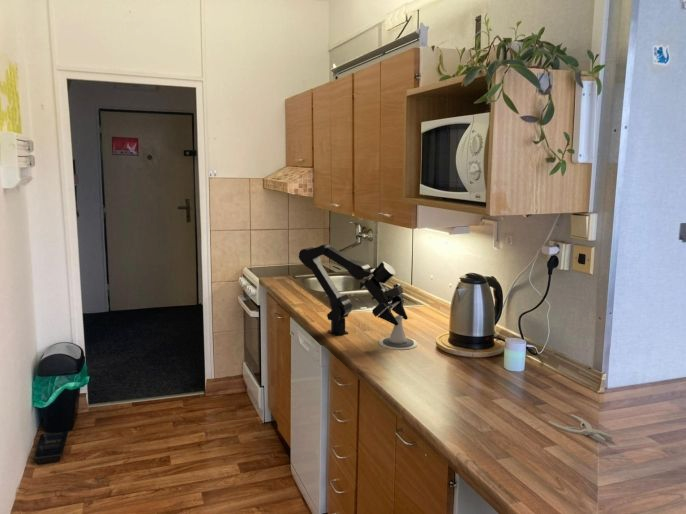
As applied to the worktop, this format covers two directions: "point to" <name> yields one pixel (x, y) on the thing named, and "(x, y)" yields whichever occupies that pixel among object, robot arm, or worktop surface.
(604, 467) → the worktop surface
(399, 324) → the flask
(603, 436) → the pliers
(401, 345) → the coaster
